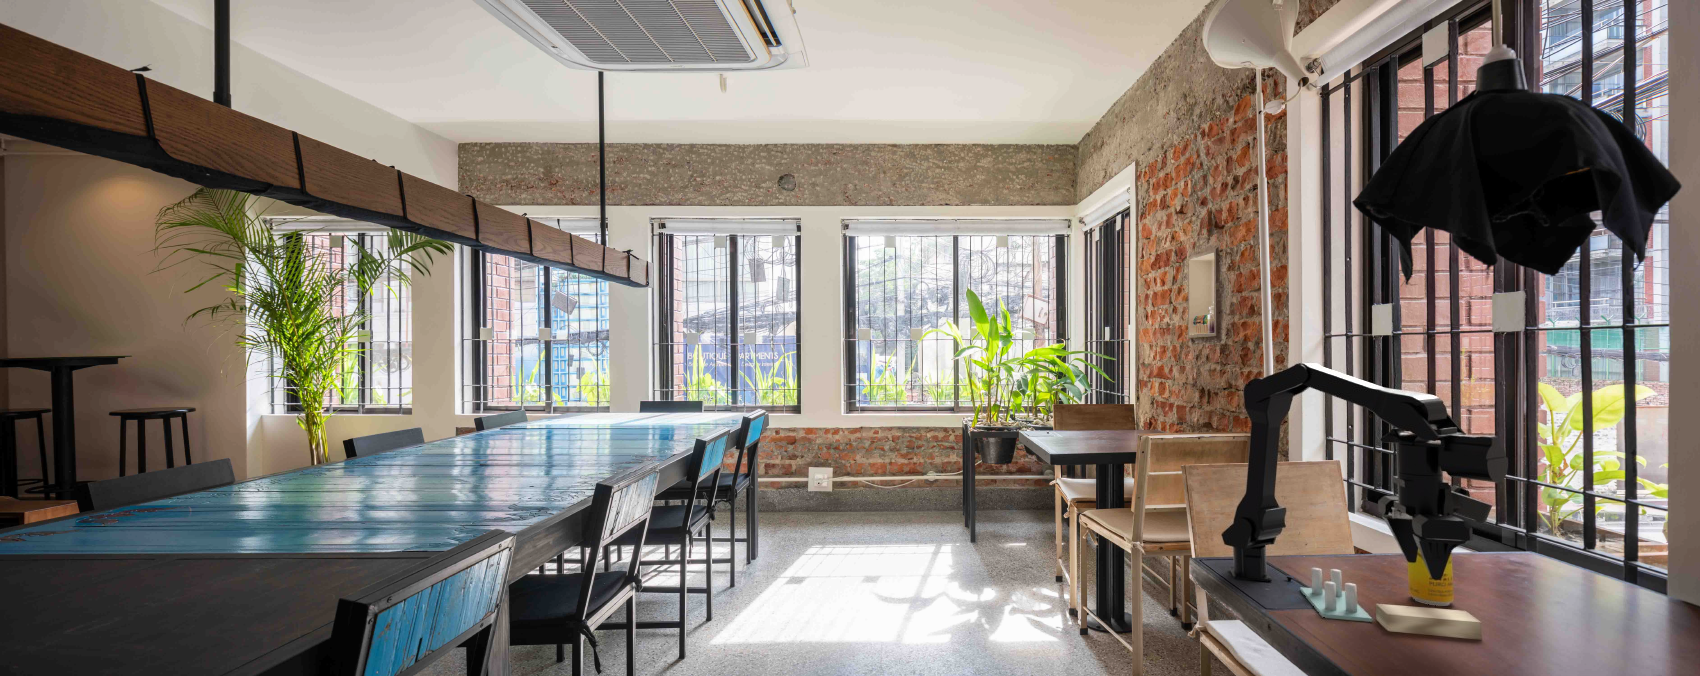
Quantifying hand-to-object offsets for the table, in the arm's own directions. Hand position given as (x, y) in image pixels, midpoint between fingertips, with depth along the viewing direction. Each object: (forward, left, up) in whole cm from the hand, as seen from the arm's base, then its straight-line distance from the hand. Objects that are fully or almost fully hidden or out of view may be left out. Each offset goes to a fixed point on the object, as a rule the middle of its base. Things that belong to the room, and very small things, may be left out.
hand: (1423, 570), depth 112 cm
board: (0, 0, -10) cm, 10 cm away
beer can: (-15, +6, -9) cm, 19 cm away
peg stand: (-8, -10, -9) cm, 16 cm away
